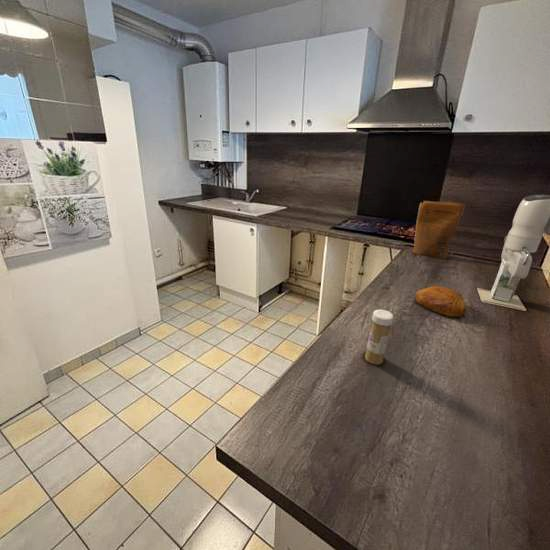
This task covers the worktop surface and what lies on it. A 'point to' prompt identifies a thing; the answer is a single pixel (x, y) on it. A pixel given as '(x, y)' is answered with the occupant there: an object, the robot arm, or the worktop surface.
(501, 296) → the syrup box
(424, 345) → the worktop surface
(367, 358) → the sprinkles bottle
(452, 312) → the bread loaf
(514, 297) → the napkin
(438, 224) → the pancake mix bag
